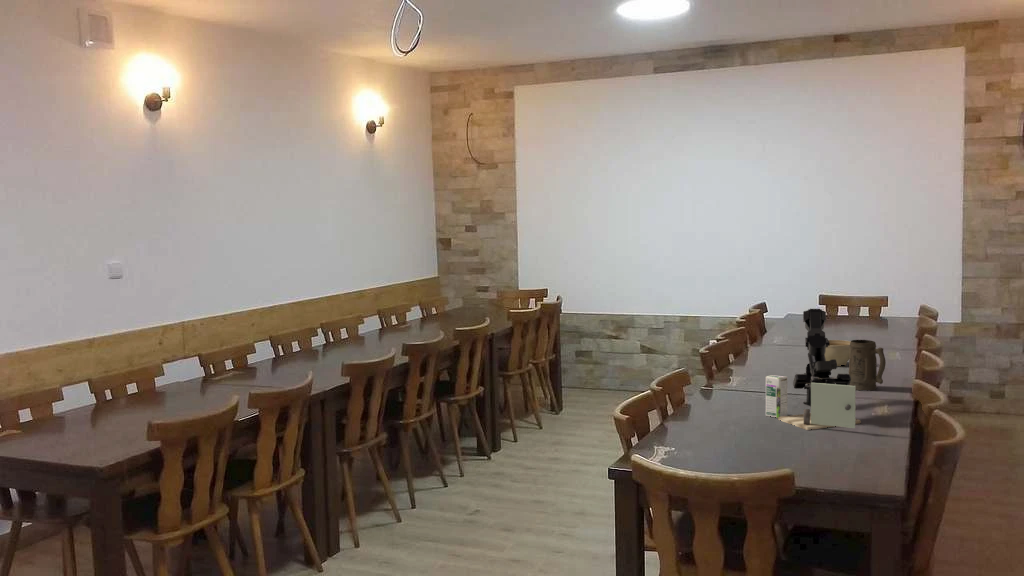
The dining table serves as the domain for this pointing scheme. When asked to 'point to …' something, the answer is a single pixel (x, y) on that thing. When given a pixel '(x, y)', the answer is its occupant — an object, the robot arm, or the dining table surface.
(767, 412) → the syrup box
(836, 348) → the planter bowl
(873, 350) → the beer stein
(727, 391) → the dining table surface
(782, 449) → the dining table surface
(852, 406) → the door
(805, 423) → the door stand
